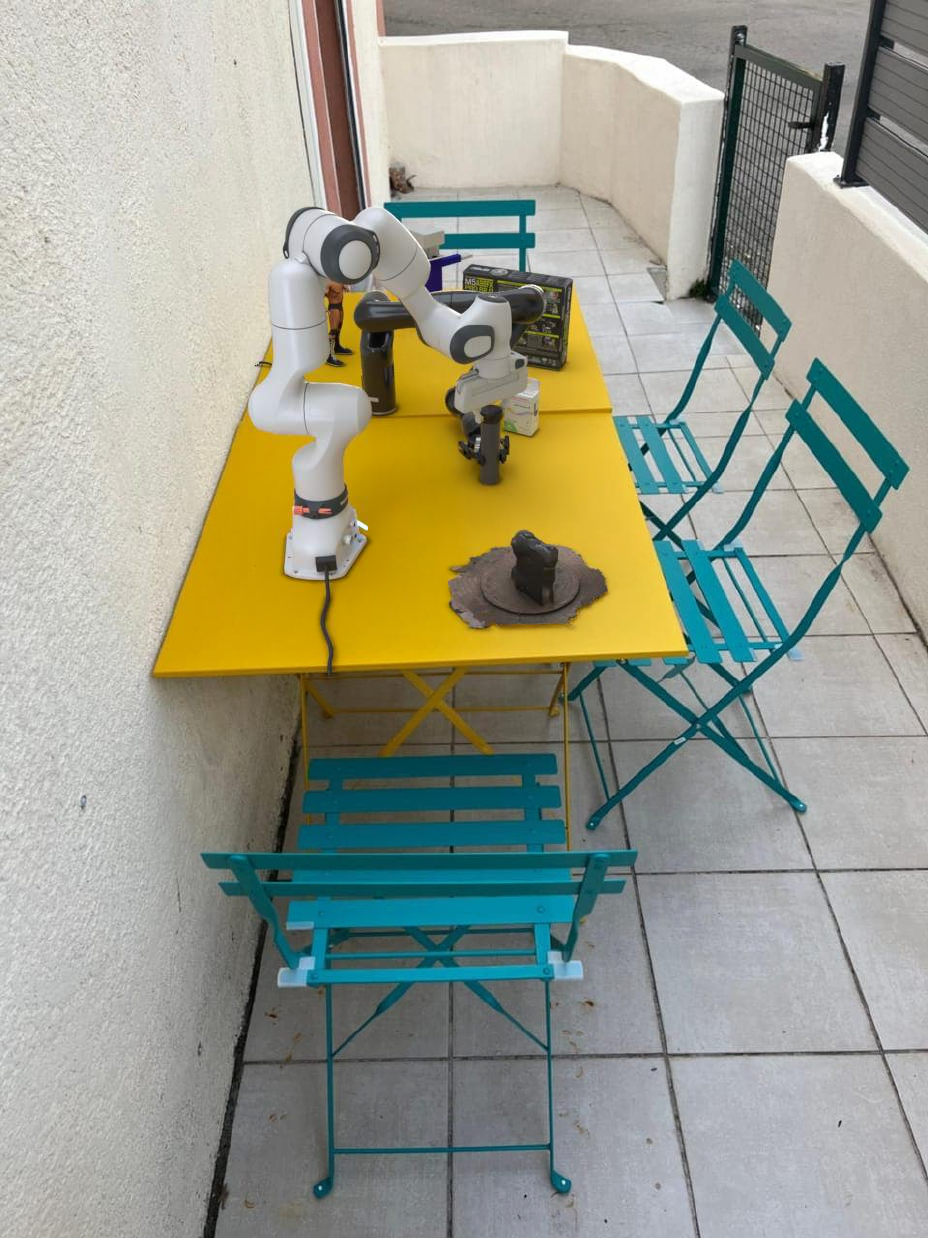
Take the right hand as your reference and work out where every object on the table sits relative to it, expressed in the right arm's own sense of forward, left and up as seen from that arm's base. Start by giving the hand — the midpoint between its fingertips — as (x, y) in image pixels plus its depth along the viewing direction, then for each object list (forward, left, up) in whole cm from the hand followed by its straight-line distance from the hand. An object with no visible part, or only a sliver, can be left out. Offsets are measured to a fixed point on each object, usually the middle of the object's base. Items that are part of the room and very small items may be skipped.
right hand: (492, 461), depth 221 cm
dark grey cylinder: (-2, +1, -7) cm, 7 cm away
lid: (-2, +1, +13) cm, 13 cm away
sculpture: (+37, -21, -7) cm, 43 cm away
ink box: (-18, +25, -7) cm, 31 cm away
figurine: (-90, +10, -7) cm, 91 cm away
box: (-55, +54, -7) cm, 77 cm away
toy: (-97, +51, -7) cm, 110 cm away
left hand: (-2, +1, +11) cm, 11 cm away
